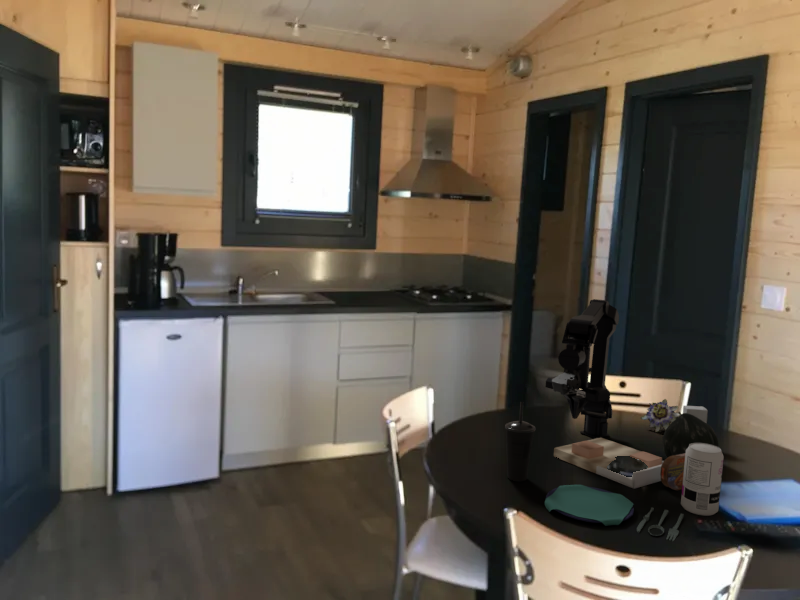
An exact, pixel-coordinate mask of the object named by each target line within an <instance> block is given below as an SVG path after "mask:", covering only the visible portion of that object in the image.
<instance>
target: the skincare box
mask: <svg viewBox="0 0 800 600" xmlns="http://www.w3.org/2000/svg"><path fill="white" fill-rule="evenodd" d="M682 408H683V409H682V414H683V413H689V414H691V415H694V416H696V417H697V418H699V419H701V420H702V421H704V422H705V423H707V422H708V412H709V411H708V409H707V408H706V407H704V406H701V405H700V406H696V405H683V407H682ZM707 424H708V423H707Z"/></svg>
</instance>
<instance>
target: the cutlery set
mask: <svg viewBox="0 0 800 600" xmlns="http://www.w3.org/2000/svg"><path fill="white" fill-rule="evenodd" d="M634 505H635V504H634V502H632V501H631V500H630V499H628V498H627V497H626V496H624V495H623V494H621V493H616V492H612V491H610V490H607V489H603V488H598V487H593V486H587V485H584V484H570V485H569V484H566V485H565V484H563V485H559V486H558V487H555V488H553V489H551V490H549V491H548V492H547V494H546V495H545V500H544V506H545V508H546V509H547V511H548V512H549V513H550V512H551V511H552V510H554V511H555V512H558V513H559V514H560V515H561V514H562V516H563V515H564V516H566V517H568V518H570V519H571V518H572V519H574V520H577V521H582V522H587V523H593V524H595V523H597V524H603V525H604V526H605V527H607V526H619V525H621V523H622V522H623V521H627V520H629V519H630V518H631V517H633V515H634V512H635V507H633V506H634ZM654 511H655V508H654V507H652V506H651V507H650V510H649V511H648V513H647V514H645V515H644V516H643V519H642V520H641V521H640V522H639V524H638V525H637V527H636V532H637V533H638V534H639V533H640V532H641V531H642V529H643V527H644V525H645V524H646V523H647V522H649V520H650V517H651V513H652V512H654ZM667 515H669V510H668V509H664V511H663V513H662V515H661V517H660V520H659V522H658V523H657V524H653V525H650V526H649V527H648V528H647V532H648V533H649V534H650V536H655V537H658V536H662V535H663V534H664V533H665V528H664V527H663V526H662V523H663V522H664V520H665V518H666V517H667ZM684 516H685V515H684V513H680V514H679V516H678V518H677V521H676V523H675V524H674V526H672V528H671V527H670V528H669V529H668V531H667V532H668V533H667V536H666V539H665V541H668V539H669V541H670V542H671V540H672V542H674V541H675V539H676V538H677V537H678V536H679V533H680V531H679V530H678V529H679V526H680V525H681V523H682V521H683V519H684ZM651 529H659V530H661V532H662V533H661V534H652V533H651V532H650V530H651Z"/></svg>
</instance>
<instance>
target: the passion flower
mask: <svg viewBox="0 0 800 600" xmlns="http://www.w3.org/2000/svg"><path fill="white" fill-rule="evenodd" d="M648 405H649V407H648V408H647V409H646V410H647V411H646V413H645V414H644V415H642V416H640V419H641V420H643V421H646V420H648V421H649V425H648V426H649V429H654V431H655V433H659V432H660V431H661V429H662V427H663V429H664V430H666V429H667V427H668V426H669V425H670V424H671V423H672V422H673V421H674V420H676V419H677V418H678V417H679V416H680V415H681V414H682V413H681V411H677V410H678V409H679V406H678V405H672V406H669V404H668V400H667V399H666V398H664V399H662V401H659V402H652V403H650V402H649V403H648Z"/></svg>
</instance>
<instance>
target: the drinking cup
mask: <svg viewBox="0 0 800 600" xmlns="http://www.w3.org/2000/svg"><path fill="white" fill-rule="evenodd" d="M523 410H524V401H520V404H519V420H514V421H510V422H507V423H505V426H504V428H505V432H506V434H505V435H506V436H505V438H506V464H507V465H506V467H507V468H506V470H507V479H508V478H509V480H510V481H512V480H513V482H525V481H527V478H528V472H529V465H530V460H531V459H530V458H531V455H532V454H531V453H532V446H533V441H534V436H535V435H534V433H535V431H536V426H535V425H533V424H531V423H529V422H527V421H524V420H523Z"/></svg>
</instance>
